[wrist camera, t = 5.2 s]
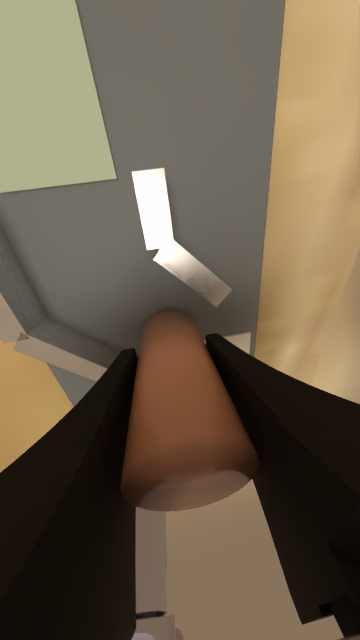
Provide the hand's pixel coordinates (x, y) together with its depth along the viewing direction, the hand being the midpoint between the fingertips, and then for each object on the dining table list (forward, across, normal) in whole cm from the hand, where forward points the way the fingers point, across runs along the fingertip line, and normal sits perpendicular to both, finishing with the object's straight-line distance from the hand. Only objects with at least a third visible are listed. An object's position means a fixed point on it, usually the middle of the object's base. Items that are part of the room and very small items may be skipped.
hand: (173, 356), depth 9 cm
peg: (+2, 0, 0) cm, 2 cm away
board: (+3, +1, -4) cm, 5 cm away
